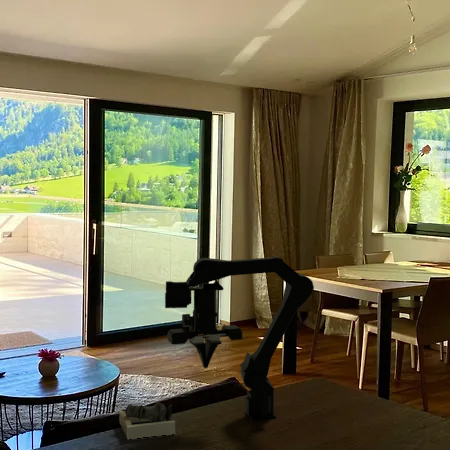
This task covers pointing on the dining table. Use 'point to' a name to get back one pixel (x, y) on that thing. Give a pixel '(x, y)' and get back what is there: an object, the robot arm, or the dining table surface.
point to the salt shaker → (150, 412)
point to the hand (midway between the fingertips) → (205, 367)
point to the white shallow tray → (145, 427)
